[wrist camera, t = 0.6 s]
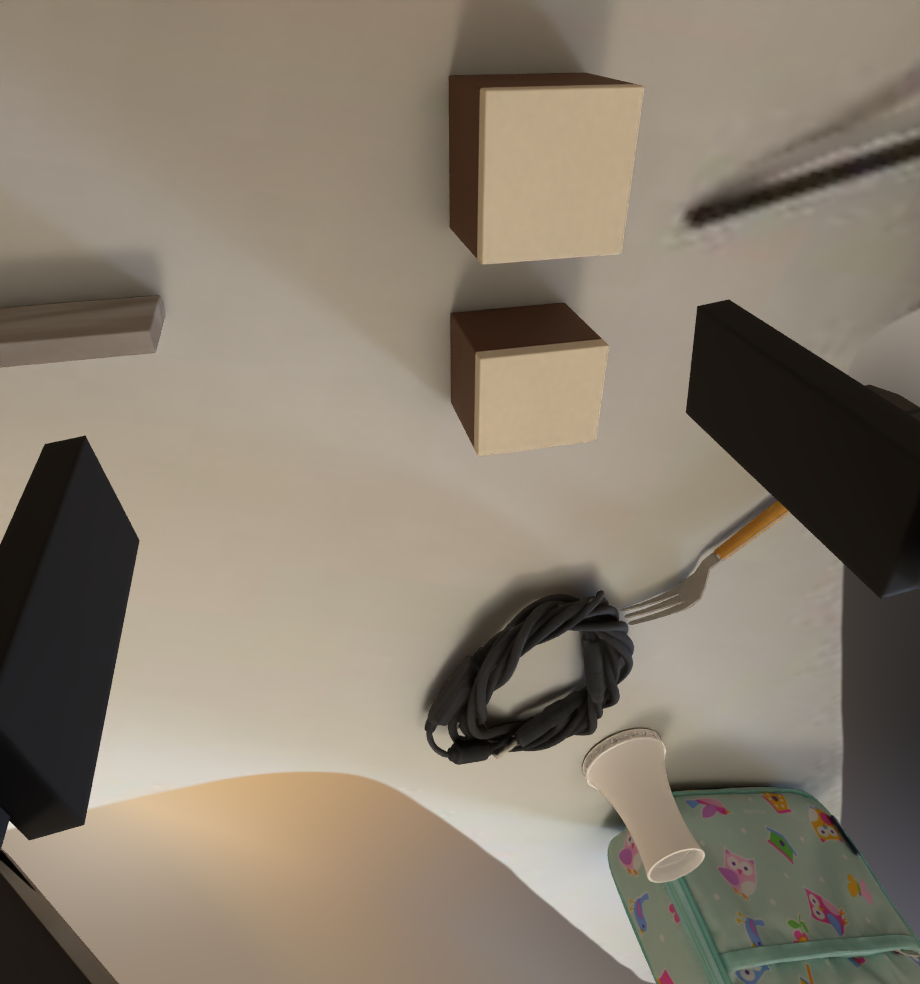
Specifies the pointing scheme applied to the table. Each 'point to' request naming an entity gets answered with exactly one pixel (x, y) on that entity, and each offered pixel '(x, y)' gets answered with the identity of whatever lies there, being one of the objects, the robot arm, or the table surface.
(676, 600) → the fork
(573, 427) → the cake slice
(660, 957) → the lunch box
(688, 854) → the vase
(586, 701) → the cable
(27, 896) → the robot arm
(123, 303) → the long brown beam
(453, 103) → the cake
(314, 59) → the table surface
